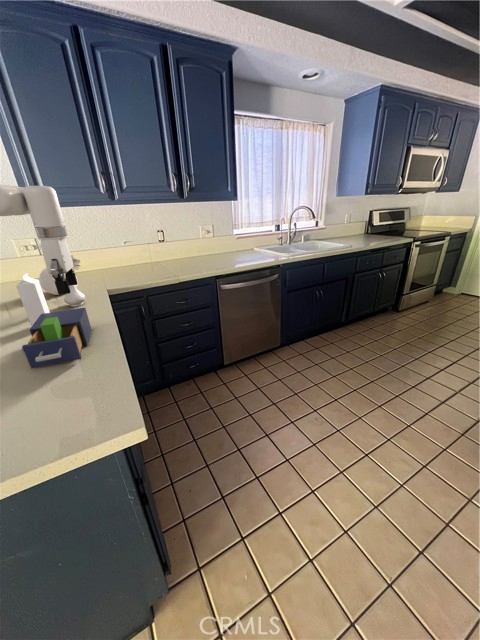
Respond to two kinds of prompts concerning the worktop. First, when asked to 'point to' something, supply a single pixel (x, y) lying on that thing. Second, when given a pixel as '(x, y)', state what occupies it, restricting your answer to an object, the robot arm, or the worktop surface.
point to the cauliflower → (48, 282)
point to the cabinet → (68, 321)
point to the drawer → (54, 348)
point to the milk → (32, 298)
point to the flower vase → (74, 290)
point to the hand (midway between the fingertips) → (68, 289)
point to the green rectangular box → (51, 329)
